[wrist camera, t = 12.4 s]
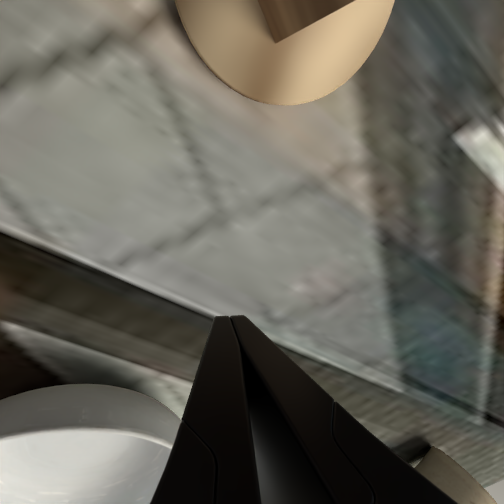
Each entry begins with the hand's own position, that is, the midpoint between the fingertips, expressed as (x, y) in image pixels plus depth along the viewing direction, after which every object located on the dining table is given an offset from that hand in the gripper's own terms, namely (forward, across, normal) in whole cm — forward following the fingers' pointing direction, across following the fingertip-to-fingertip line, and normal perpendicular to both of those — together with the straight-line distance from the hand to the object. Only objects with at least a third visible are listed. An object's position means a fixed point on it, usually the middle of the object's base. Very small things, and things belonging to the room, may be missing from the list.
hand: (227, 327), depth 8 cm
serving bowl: (+13, +9, +23) cm, 28 cm away
